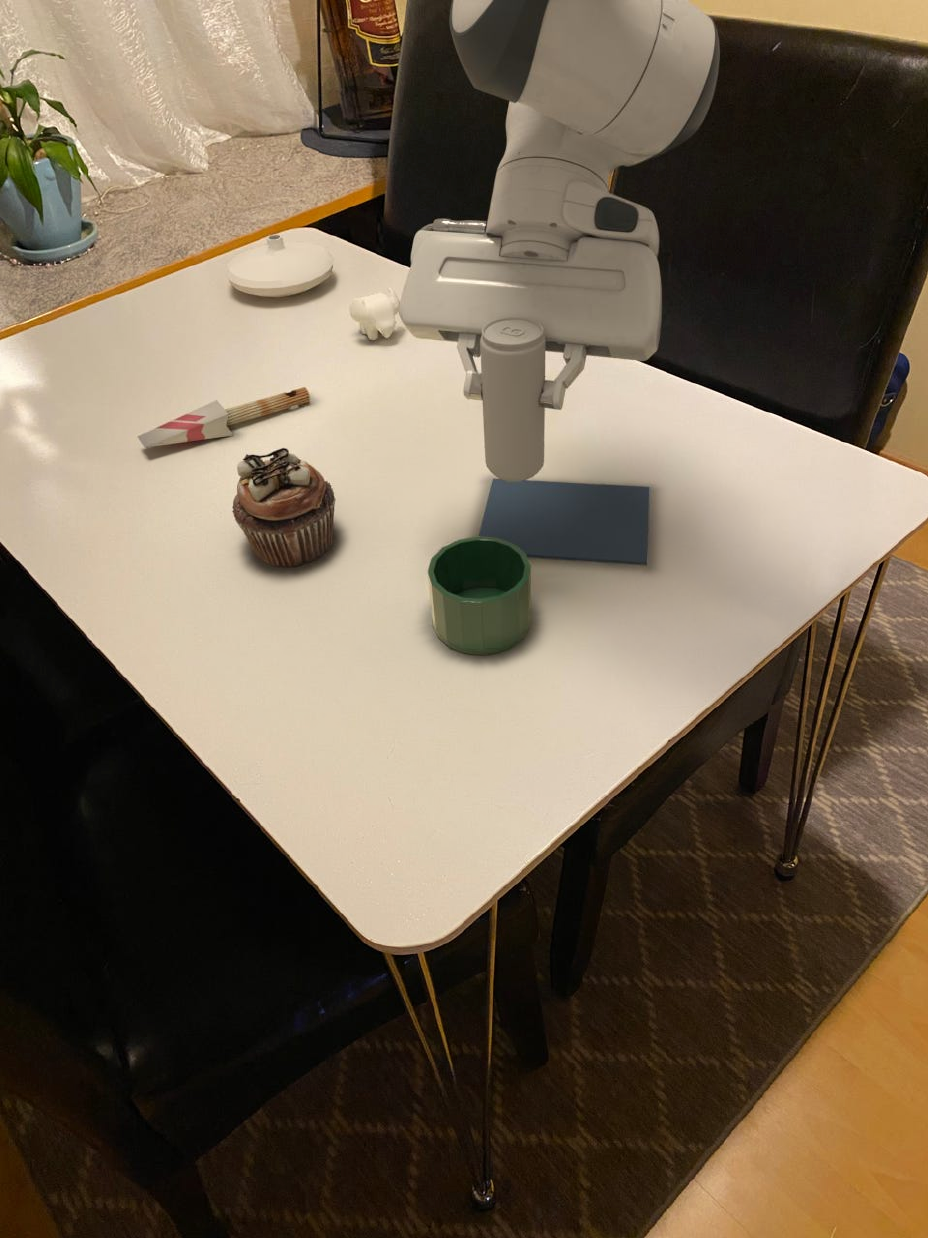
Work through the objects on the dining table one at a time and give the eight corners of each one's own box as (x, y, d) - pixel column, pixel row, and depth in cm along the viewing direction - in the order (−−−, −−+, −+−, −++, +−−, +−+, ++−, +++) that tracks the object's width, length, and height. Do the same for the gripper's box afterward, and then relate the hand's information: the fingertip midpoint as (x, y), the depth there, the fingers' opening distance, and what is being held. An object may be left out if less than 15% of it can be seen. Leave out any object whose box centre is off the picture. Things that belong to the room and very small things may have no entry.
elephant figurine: (368, 354, 116) (362, 309, 111) (342, 331, 121) (335, 287, 117) (414, 339, 118) (410, 295, 114) (387, 317, 123) (382, 274, 119)
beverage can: (526, 491, 71) (525, 350, 63) (474, 475, 73) (467, 336, 65) (554, 460, 74) (557, 322, 66) (503, 446, 76) (500, 310, 68)
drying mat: (649, 489, 91) (649, 486, 91) (646, 565, 82) (647, 562, 82) (493, 481, 93) (492, 478, 93) (475, 554, 85) (475, 550, 85)
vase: (288, 317, 125) (278, 266, 120) (207, 295, 131) (195, 247, 127) (358, 275, 134) (351, 227, 129) (279, 257, 141) (270, 210, 136)
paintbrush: (132, 422, 100) (299, 377, 107) (138, 444, 101) (302, 398, 109) (142, 437, 97) (312, 390, 105) (148, 459, 99) (315, 411, 106)
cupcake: (360, 546, 87) (346, 458, 80) (270, 587, 83) (247, 499, 76) (313, 500, 92) (296, 415, 86) (227, 537, 89) (202, 451, 82)
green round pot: (535, 592, 80) (535, 539, 76) (524, 659, 74) (523, 606, 70) (443, 585, 82) (438, 533, 78) (425, 650, 76) (419, 598, 72)
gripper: (405, 197, 69) (373, 375, 69) (676, 213, 63) (641, 406, 63) (429, 235, 75) (399, 398, 75) (678, 252, 69) (645, 428, 69)
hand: (512, 402), depth 69 cm, fingers closed on beverage can, 5 cm apart
